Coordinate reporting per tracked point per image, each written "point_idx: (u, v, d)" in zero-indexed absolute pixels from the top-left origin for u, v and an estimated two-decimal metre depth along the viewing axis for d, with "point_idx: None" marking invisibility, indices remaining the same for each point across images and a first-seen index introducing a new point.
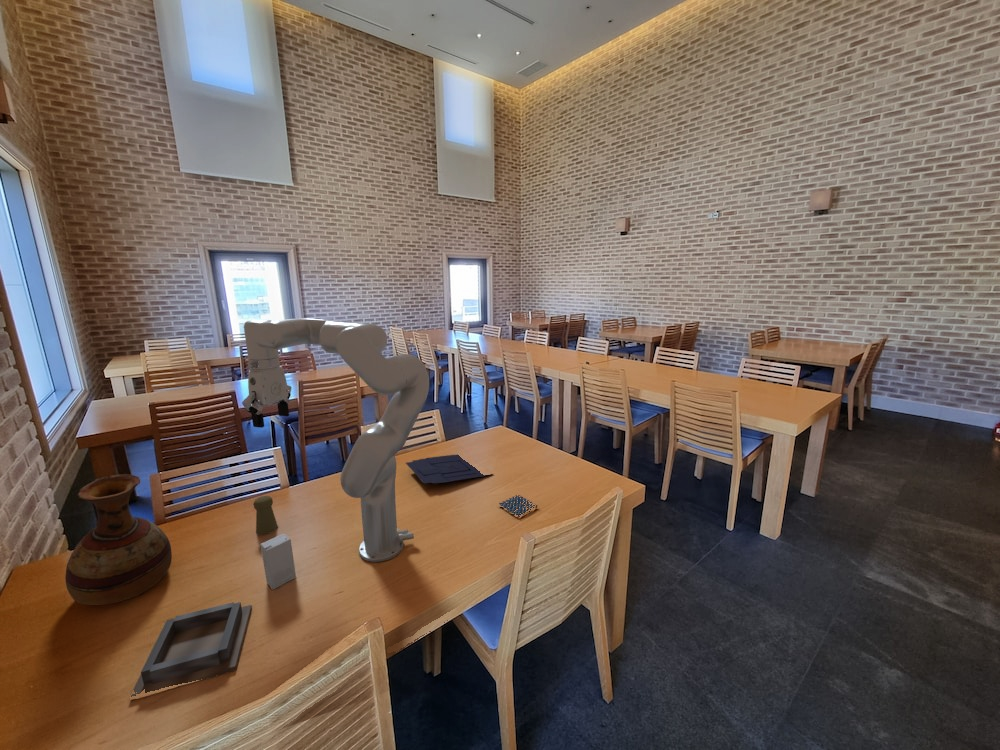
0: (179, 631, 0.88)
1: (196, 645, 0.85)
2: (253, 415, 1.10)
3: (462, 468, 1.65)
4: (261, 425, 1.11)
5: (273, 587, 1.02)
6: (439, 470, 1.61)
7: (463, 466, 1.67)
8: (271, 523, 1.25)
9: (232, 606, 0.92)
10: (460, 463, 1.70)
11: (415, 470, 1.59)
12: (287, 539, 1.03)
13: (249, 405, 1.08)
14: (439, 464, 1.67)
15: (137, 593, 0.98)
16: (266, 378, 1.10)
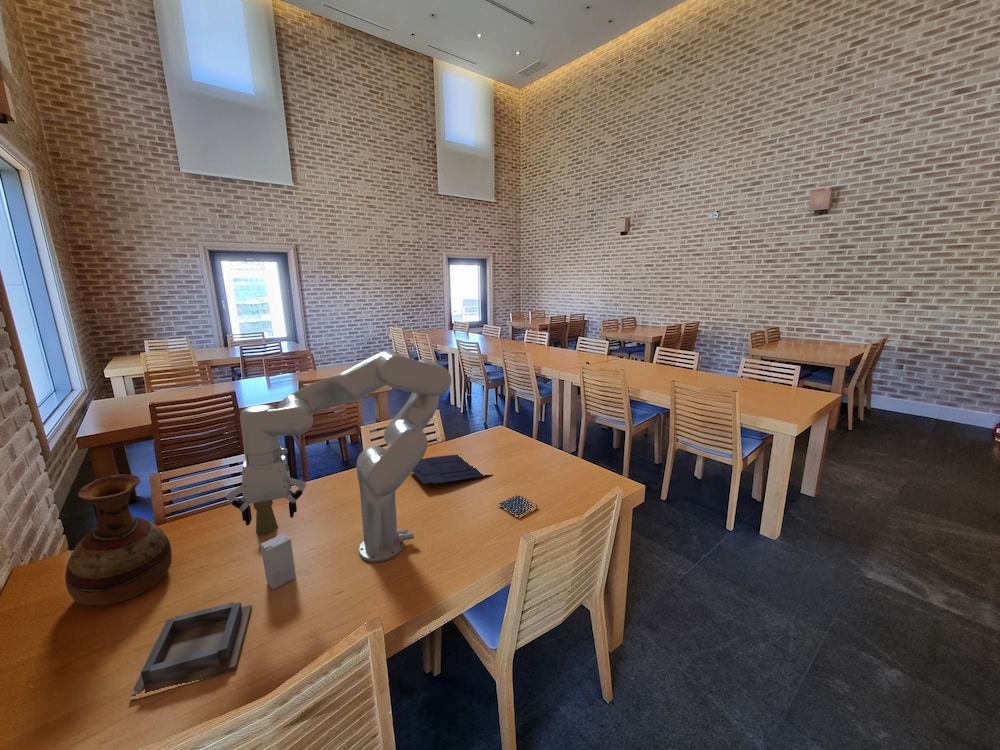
0: (179, 631, 0.88)
1: (196, 645, 0.85)
2: None
3: (462, 468, 1.65)
4: None
5: (273, 587, 1.02)
6: (439, 470, 1.61)
7: (462, 467, 1.67)
8: (271, 523, 1.25)
9: (232, 606, 0.92)
10: (460, 463, 1.70)
11: (415, 470, 1.59)
12: (287, 539, 1.03)
13: None
14: (438, 464, 1.67)
15: (137, 593, 0.98)
16: None
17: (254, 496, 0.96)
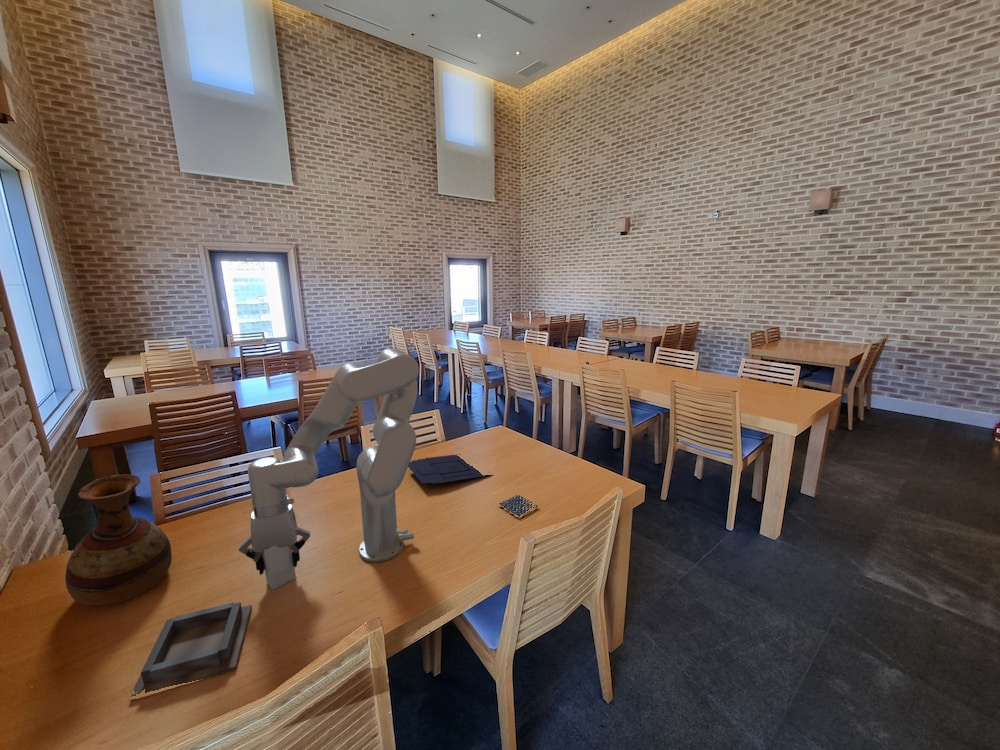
0: (179, 631, 0.88)
1: (196, 645, 0.85)
2: None
3: (461, 468, 1.65)
4: None
5: (273, 587, 1.02)
6: (438, 470, 1.61)
7: (462, 467, 1.67)
8: None
9: (232, 606, 0.92)
10: (459, 463, 1.70)
11: (414, 470, 1.59)
12: None
13: None
14: (438, 464, 1.67)
15: (137, 593, 0.98)
16: None
17: (262, 546, 0.99)
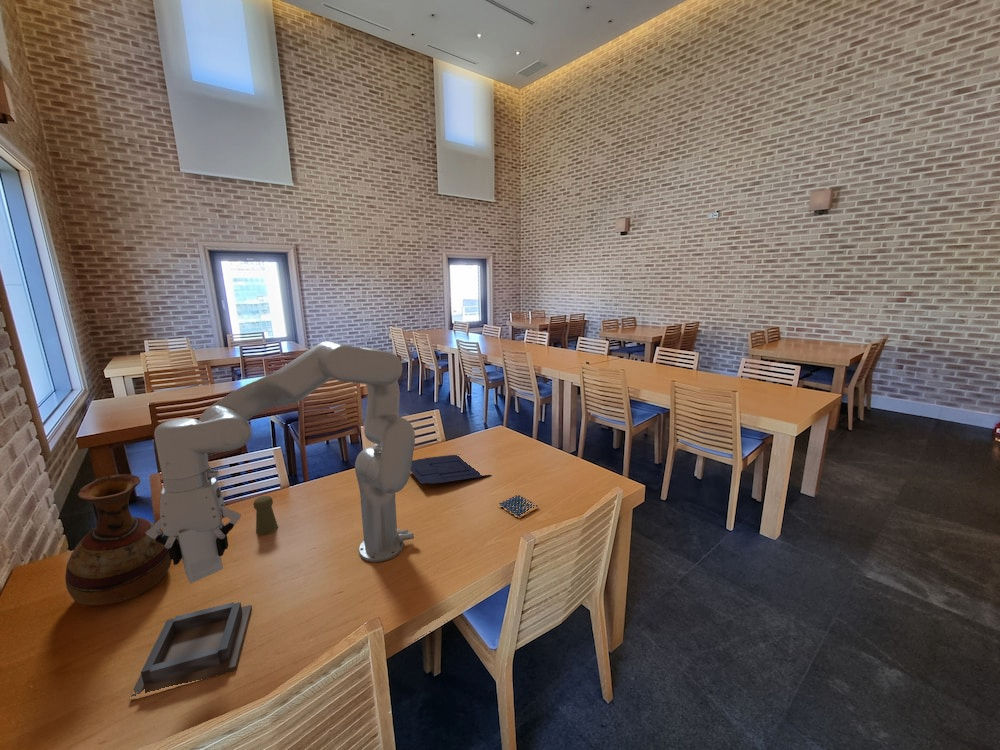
0: (179, 631, 0.88)
1: (196, 645, 0.85)
2: (225, 536, 0.85)
3: (460, 468, 1.65)
4: None
5: (191, 580, 0.82)
6: (437, 470, 1.61)
7: (461, 467, 1.67)
8: (271, 523, 1.25)
9: (232, 606, 0.92)
10: (459, 463, 1.70)
11: (413, 470, 1.59)
12: None
13: None
14: (437, 464, 1.67)
15: (137, 593, 0.98)
16: None
17: (176, 528, 0.80)
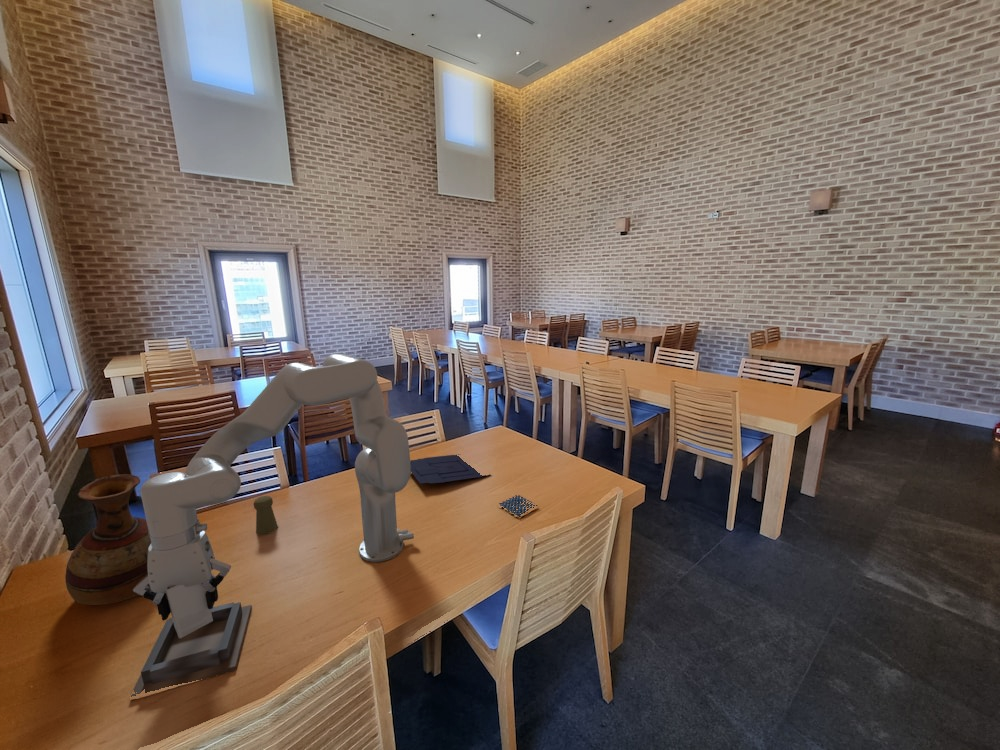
0: None
1: (196, 645, 0.85)
2: (215, 589, 0.84)
3: (460, 468, 1.65)
4: None
5: (180, 635, 0.81)
6: (436, 470, 1.61)
7: (460, 467, 1.67)
8: (271, 523, 1.25)
9: (232, 606, 0.92)
10: (458, 463, 1.70)
11: (413, 470, 1.59)
12: None
13: None
14: (437, 464, 1.67)
15: None
16: None
17: (164, 585, 0.78)
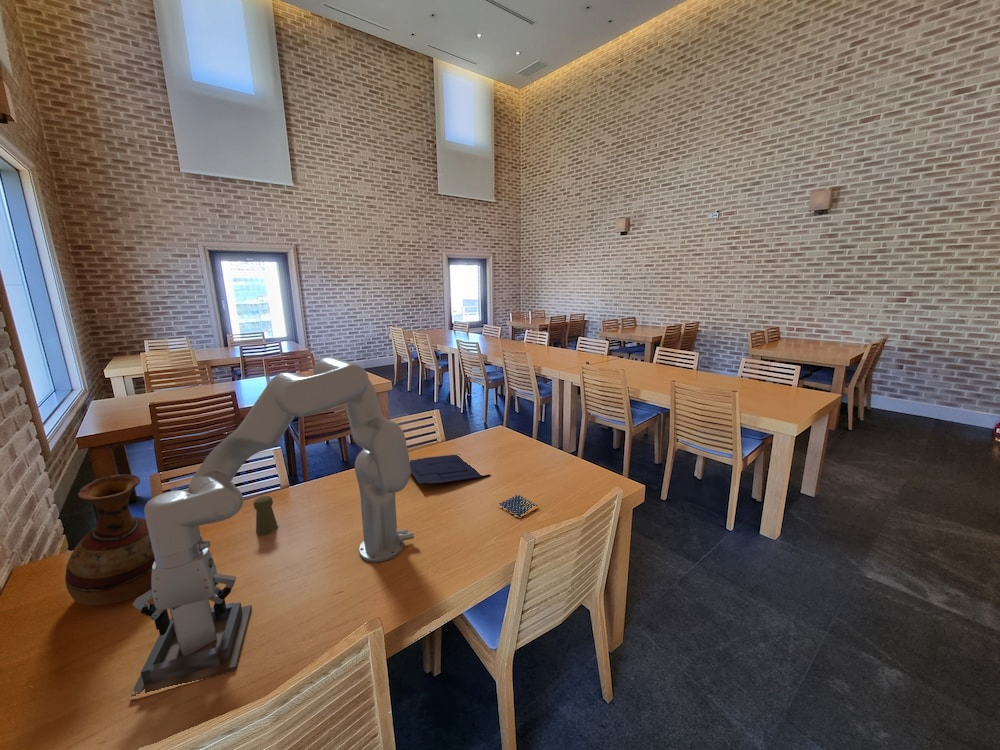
0: None
1: None
2: (222, 601, 0.85)
3: (459, 468, 1.65)
4: None
5: (185, 655, 0.82)
6: (436, 470, 1.61)
7: (460, 467, 1.67)
8: (271, 523, 1.25)
9: (232, 606, 0.92)
10: (458, 463, 1.70)
11: (412, 470, 1.59)
12: None
13: None
14: (436, 464, 1.67)
15: (137, 593, 0.98)
16: None
17: (168, 602, 0.79)
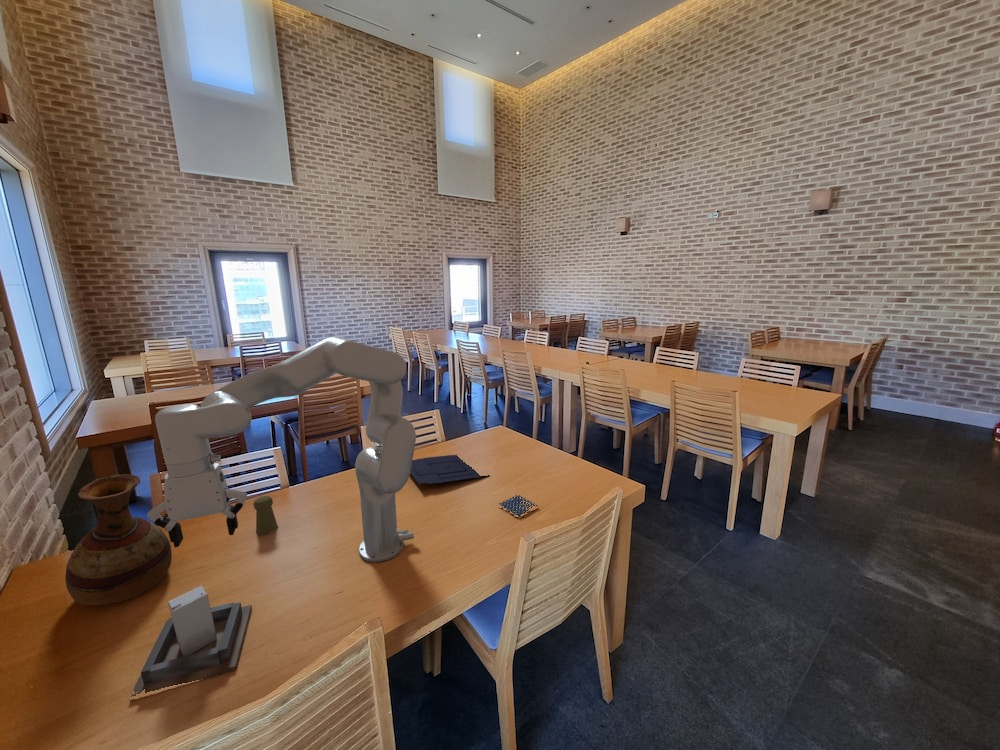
0: None
1: None
2: (235, 516, 0.87)
3: (459, 469, 1.65)
4: None
5: (185, 655, 0.82)
6: (435, 470, 1.61)
7: (459, 467, 1.67)
8: (271, 523, 1.25)
9: (232, 606, 0.92)
10: (457, 463, 1.70)
11: (411, 470, 1.59)
12: (203, 594, 0.84)
13: None
14: (436, 464, 1.67)
15: (137, 593, 0.98)
16: None
17: (181, 513, 0.81)
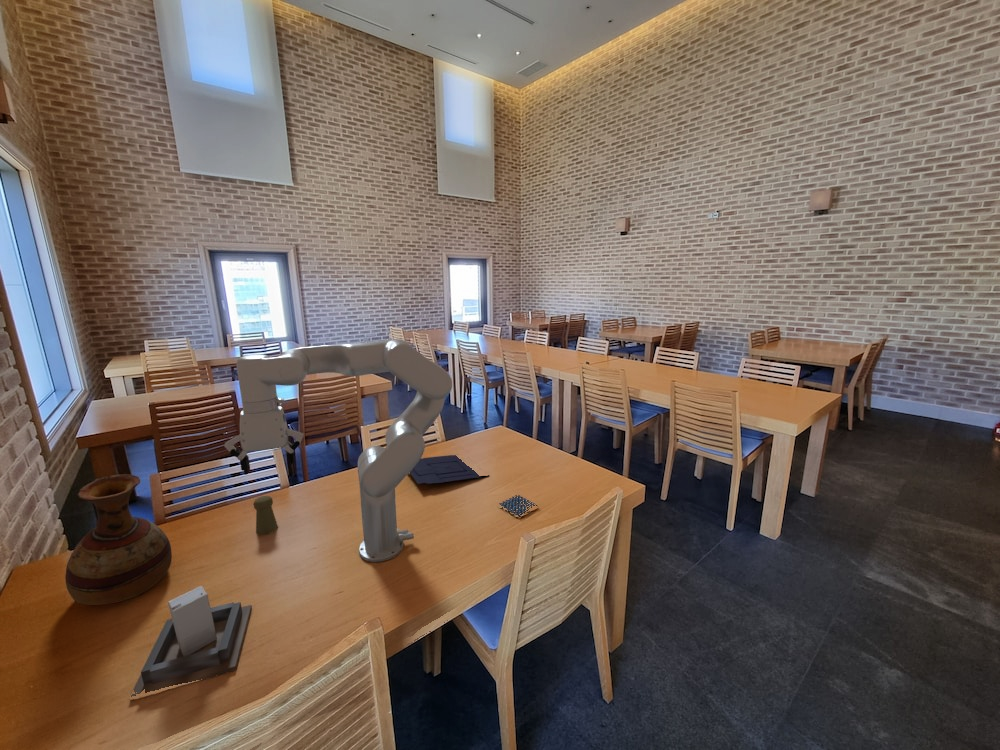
0: None
1: None
2: (293, 452, 1.03)
3: (458, 469, 1.65)
4: None
5: (185, 655, 0.82)
6: (435, 470, 1.61)
7: (459, 467, 1.67)
8: (271, 523, 1.25)
9: (232, 606, 0.92)
10: (457, 464, 1.70)
11: (411, 470, 1.59)
12: (203, 594, 0.84)
13: None
14: (435, 464, 1.67)
15: (137, 593, 0.98)
16: None
17: (252, 445, 0.97)
